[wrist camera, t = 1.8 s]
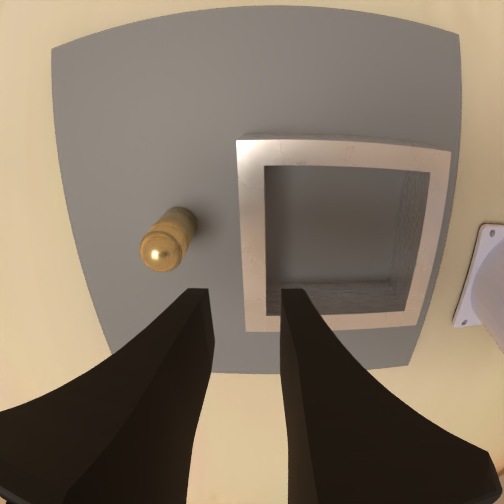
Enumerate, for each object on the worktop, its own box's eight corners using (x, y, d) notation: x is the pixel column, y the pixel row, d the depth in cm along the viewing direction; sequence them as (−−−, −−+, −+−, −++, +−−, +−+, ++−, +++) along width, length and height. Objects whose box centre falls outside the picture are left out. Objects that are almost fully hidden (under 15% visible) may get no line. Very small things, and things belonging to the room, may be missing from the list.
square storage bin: (421, 142, 13) (451, 151, 11) (398, 294, 17) (416, 325, 15) (242, 134, 14) (236, 140, 11) (249, 297, 18) (245, 331, 15)
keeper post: (199, 201, 16) (174, 237, 12) (202, 236, 17) (181, 281, 13) (163, 202, 17) (128, 238, 12) (168, 236, 17) (137, 280, 13)
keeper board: (451, 36, 11) (458, 34, 10) (405, 358, 21) (408, 365, 20) (59, 50, 12) (51, 49, 12) (119, 356, 22) (115, 363, 21)
